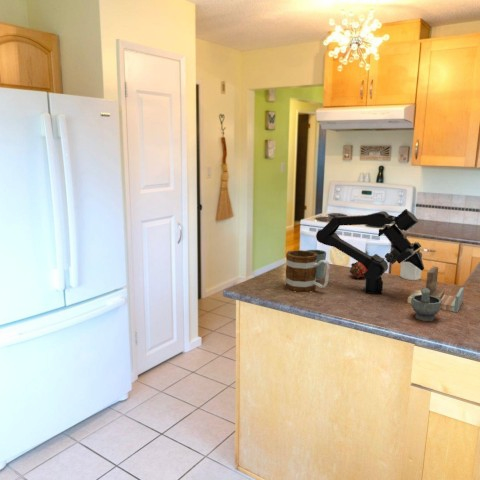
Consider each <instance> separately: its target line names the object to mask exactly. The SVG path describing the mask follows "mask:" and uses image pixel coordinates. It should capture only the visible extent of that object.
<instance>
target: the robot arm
mask: <svg viewBox="0 0 480 480" xmlns="http://www.w3.org/2000/svg"><path fill="white" fill-rule="evenodd" d="M417 223H419V220H418V218H417V216H416V215H415V214H413V212H411V211H409V210H408V209H406V208H405V209H404V210H402V212H401V213H400V214H398V215H397V216H396V215H392V214H391V215H390V214H389V213H388V212H387V211H386V210H385V211H377V212H374V213H373V212H372V213H369V214H364V215H363V214H359V215H343V216H341V215H336V216H334V217H332V218H331V220H330V221H329V222H328V223H326V225H325V226H323V227H322V229H319V230H317V232H316V234H315V237H316V241H317V242H319V243H320V244H322V245H326V246H329V247H333V248H335V249H337V250H338V251H340V252H342V253H344V254H345V255H347V256H348V257H350V258H351V259H354V260H355V261H356V262H360V263H362V264H363V265H364V267H365V268H366V269H367V270H368V271H367V272H365V273H364V277H365V278H364V287H363V291H364V293H365V294H379V295H381V294H383V288H384V287H383V285H384V281H383V278H382V276H383V275H384V273H386V272H387V271H388V269H389V265H388V263H390V264H392V265H394V264H395V263H396V262H397V263H398V264H401V262H402V261H403V262H410V263H412V264H413V265H415V266H416V267H418V268H419V269H420V270H421V271H423V270H425V266H424V263H423V262H424V261H423V260H422V259H423V257H422V258H421V254H420V252H421V251H420V248H422V245H421V243H419V242H418V241H415V242H412V243H411V242H410V240H409V239H408V236H407V235H406V234H404V232H403V231H405V232H407V231H408V230H410V229H411V228H412V227H413V226H416V224H417ZM390 224H392V225H390ZM360 225H364V226H370V227H375V228H379V229H378V233H377V234H378V237H381V236H382V235H384V237H385V238H387V240H388V241H389V242H390V243H391V248H392V250H391V251H390V252H387V253H386V254H385V255H384V257H382V256H380V255H379V254H377V253H375V254H373V255H369V254H368V253H366V252H364V251H363V250H360V249H359V248H357V247H356V246H354V245H352V244H350V243H348V242H347V241H346V240H344V239H342V238H341V237H340V236H339V234H338V233H336V232H337V231H338V229H339V228H340V226H341V227H342V226H360ZM382 227H383V228H382ZM405 259H406V260H405Z"/></svg>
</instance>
